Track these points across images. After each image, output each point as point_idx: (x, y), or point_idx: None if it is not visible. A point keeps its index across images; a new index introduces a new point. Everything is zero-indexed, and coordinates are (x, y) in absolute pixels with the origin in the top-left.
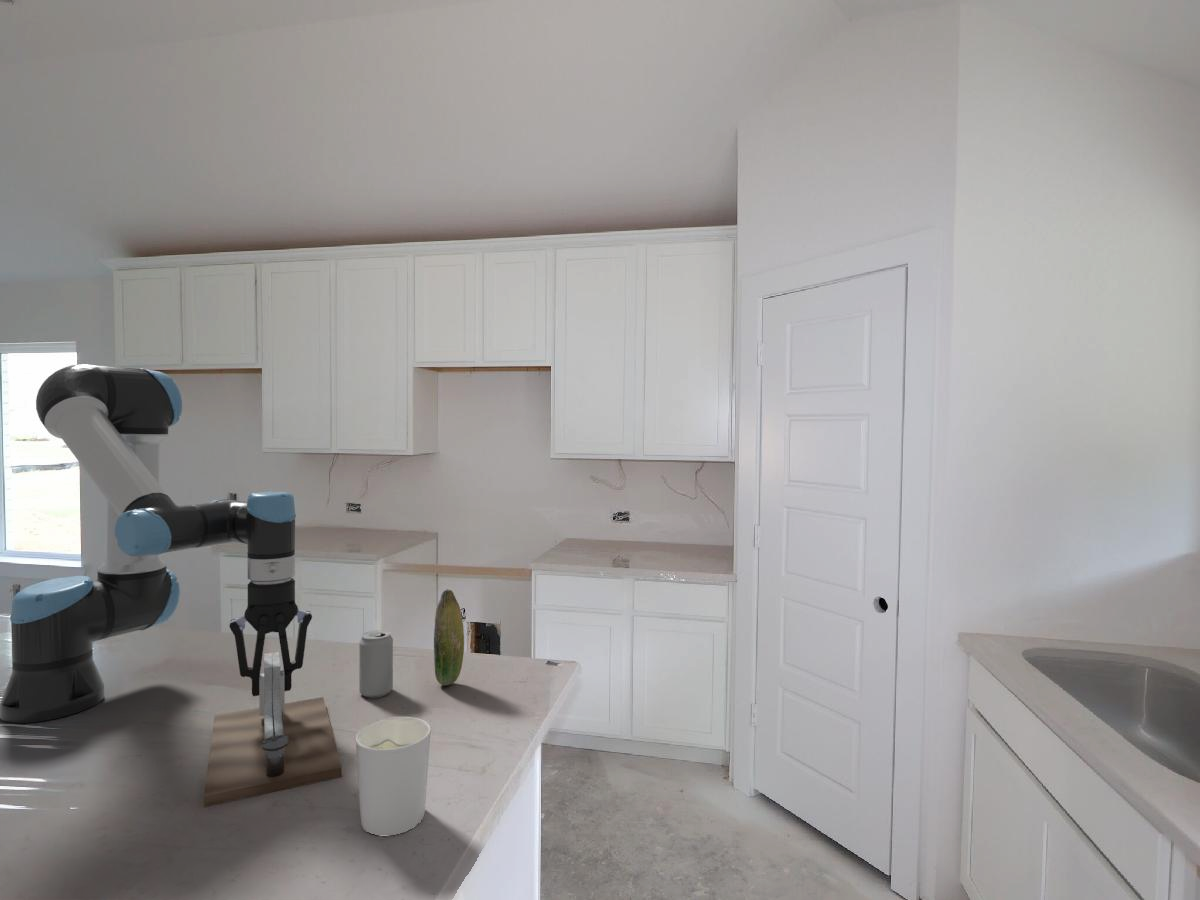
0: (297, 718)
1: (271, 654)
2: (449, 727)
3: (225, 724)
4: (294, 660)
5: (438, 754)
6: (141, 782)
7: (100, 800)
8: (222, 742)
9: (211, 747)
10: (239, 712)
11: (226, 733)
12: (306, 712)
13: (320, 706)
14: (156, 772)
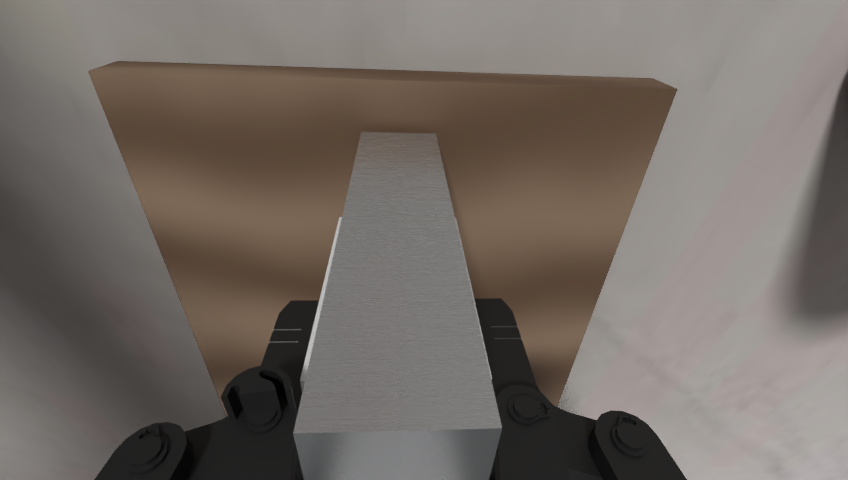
0: (492, 279)
1: (399, 471)
2: (821, 404)
3: (201, 220)
4: (597, 477)
5: (704, 473)
6: (76, 395)
7: (20, 429)
8: (237, 351)
9: (210, 368)
10: (232, 100)
11: (232, 299)
12: (538, 243)
13: (611, 205)
14: (88, 367)
